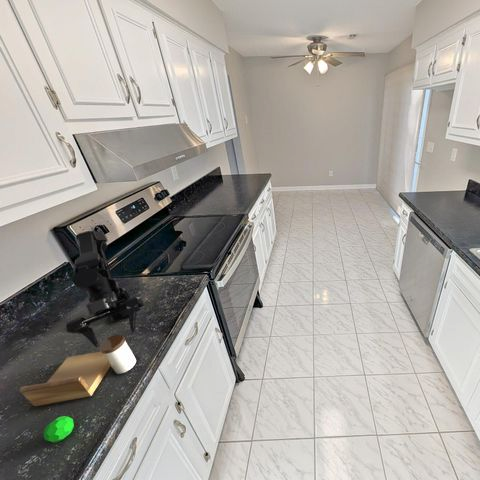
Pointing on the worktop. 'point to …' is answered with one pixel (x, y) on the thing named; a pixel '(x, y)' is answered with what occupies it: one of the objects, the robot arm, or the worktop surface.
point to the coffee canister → (118, 353)
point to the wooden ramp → (70, 380)
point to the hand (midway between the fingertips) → (116, 339)
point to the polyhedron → (58, 429)
